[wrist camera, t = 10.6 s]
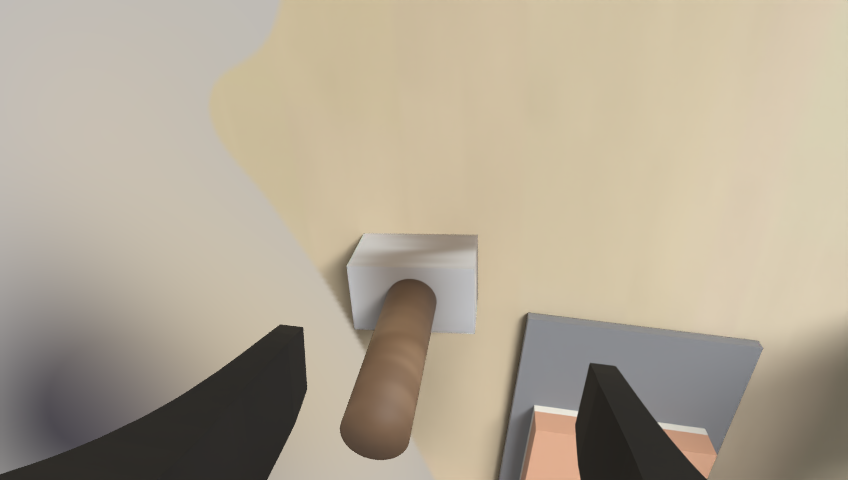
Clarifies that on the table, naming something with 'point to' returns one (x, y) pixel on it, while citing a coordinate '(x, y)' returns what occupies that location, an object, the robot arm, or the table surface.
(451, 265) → the trowel
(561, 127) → the table surface
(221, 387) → the robot arm
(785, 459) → the table surface
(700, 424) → the mat
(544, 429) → the tile
